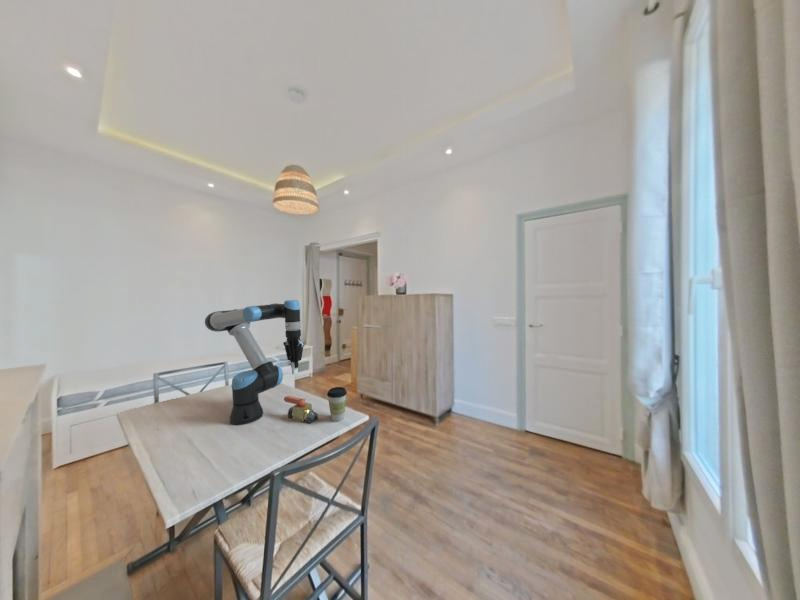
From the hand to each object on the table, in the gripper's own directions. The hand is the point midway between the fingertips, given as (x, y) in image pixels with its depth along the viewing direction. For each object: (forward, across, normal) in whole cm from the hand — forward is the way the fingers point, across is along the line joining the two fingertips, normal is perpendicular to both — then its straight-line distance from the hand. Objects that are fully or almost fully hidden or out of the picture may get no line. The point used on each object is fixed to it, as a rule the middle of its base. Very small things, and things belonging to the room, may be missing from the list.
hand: (294, 373), depth 144 cm
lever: (+15, +1, -2) cm, 15 cm away
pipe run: (+22, +7, -2) cm, 23 cm away
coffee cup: (+22, +24, +5) cm, 33 cm away
